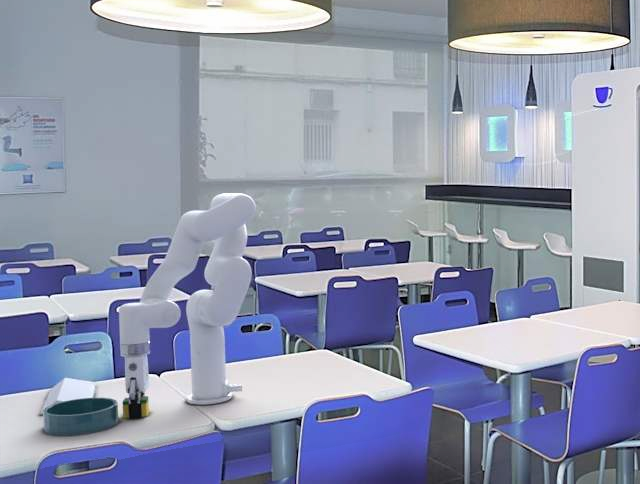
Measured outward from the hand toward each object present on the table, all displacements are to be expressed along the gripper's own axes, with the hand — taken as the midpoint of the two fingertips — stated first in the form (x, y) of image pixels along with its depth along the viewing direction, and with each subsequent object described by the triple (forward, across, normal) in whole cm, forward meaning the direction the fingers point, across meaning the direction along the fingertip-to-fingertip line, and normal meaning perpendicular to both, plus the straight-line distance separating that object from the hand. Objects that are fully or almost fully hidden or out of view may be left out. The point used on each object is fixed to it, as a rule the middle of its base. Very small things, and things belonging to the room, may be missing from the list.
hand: (137, 413), depth 238 cm
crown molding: (0, +23, +22) cm, 32 cm away
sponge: (0, 0, 0) cm, 0 cm away
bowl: (0, -6, +13) cm, 14 cm away
